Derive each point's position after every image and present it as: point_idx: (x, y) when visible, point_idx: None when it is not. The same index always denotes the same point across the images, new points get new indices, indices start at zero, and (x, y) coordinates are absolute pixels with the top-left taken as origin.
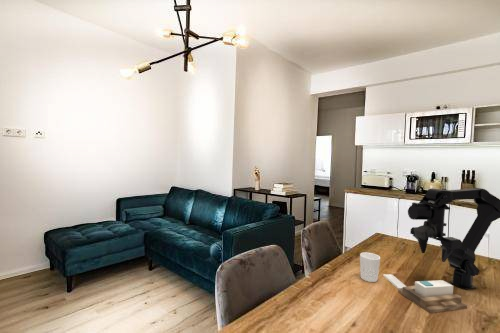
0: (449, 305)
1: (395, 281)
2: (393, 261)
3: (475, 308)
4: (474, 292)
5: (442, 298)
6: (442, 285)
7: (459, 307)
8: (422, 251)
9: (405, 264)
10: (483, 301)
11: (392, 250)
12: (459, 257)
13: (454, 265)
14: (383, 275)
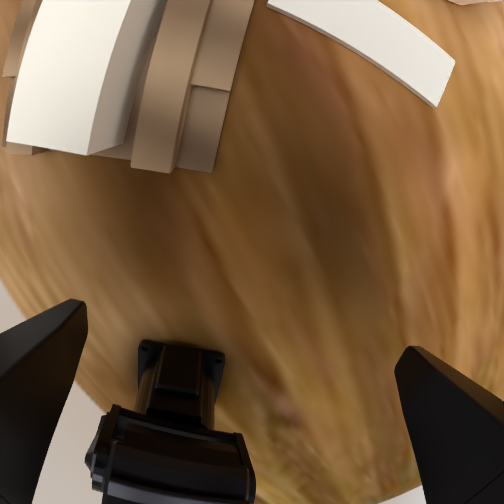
0: (16, 26)
1: (368, 21)
2: (486, 305)
3: (3, 189)
4: (112, 352)
5: (37, 12)
6: (34, 55)
7: (10, 93)
8: (421, 357)
9: (444, 332)
10: (42, 298)
11: (496, 384)
12: (126, 490)
13: (194, 438)
14: (449, 59)
